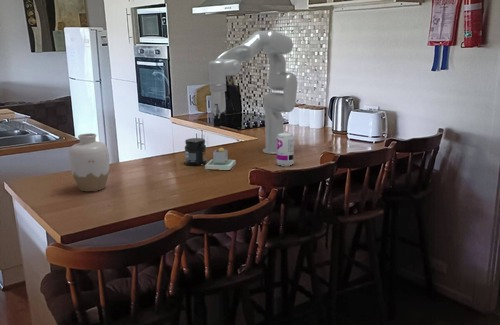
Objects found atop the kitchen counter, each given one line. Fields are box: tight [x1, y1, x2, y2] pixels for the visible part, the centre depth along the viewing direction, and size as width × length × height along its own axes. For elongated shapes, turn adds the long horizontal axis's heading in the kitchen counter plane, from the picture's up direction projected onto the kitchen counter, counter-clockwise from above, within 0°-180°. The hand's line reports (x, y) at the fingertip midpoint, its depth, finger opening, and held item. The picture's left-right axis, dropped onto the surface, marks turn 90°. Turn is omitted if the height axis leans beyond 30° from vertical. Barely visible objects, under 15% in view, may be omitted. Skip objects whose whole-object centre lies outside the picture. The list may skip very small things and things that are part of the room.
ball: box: [218, 147, 225, 152], centre depth 230 cm, size 3×3×3 cm
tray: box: [204, 159, 237, 170], centre depth 232 cm, size 12×12×2 cm
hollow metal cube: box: [212, 148, 229, 166], centre depth 231 cm, size 6×6×8 cm
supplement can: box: [276, 132, 295, 167], centre depth 233 cm, size 8×8×15 cm
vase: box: [68, 133, 111, 192], centre depth 200 cm, size 16×16×23 cm
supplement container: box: [184, 137, 208, 166], centre depth 239 cm, size 10×10×12 cm
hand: (220, 124), depth 227 cm, fingers open, 9 cm apart
